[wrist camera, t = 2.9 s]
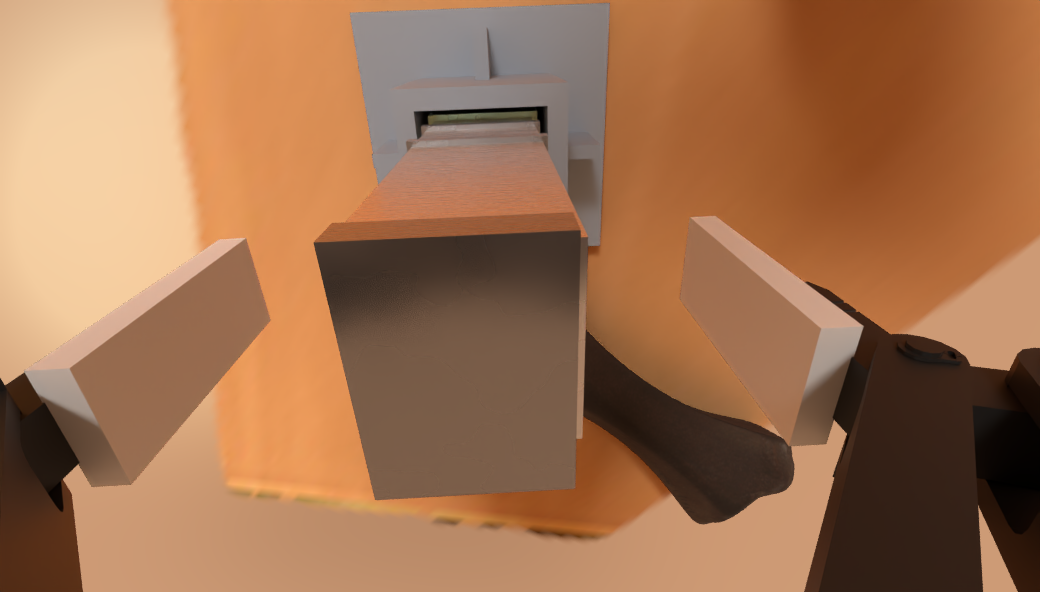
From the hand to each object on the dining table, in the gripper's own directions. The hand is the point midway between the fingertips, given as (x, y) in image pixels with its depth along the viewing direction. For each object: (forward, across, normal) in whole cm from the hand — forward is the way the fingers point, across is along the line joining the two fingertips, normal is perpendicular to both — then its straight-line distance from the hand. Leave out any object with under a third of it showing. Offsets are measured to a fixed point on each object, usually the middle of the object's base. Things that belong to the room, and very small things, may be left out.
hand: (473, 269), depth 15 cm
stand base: (+23, 0, 0) cm, 23 cm away
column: (+21, 0, 0) cm, 21 cm away
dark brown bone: (+23, +12, -23) cm, 35 cm away
